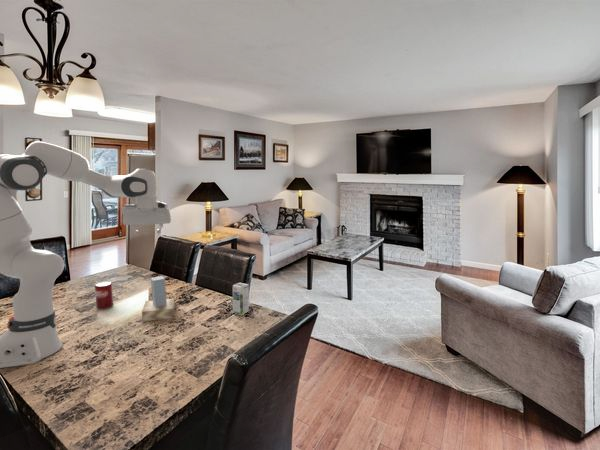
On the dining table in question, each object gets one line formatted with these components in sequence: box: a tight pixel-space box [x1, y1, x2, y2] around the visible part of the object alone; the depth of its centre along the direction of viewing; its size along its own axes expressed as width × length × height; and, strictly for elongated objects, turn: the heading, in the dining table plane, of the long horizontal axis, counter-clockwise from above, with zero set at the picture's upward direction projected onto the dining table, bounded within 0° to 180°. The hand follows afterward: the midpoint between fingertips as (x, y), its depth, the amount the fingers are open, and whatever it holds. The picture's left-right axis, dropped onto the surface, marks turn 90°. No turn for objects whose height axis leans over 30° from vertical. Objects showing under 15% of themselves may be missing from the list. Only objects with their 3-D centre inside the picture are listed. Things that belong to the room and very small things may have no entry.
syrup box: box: [232, 282, 250, 316], centre depth 156 cm, size 6×6×14 cm
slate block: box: [150, 275, 167, 308], centre depth 153 cm, size 5×5×13 cm
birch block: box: [141, 298, 175, 322], centre depth 154 cm, size 13×13×5 cm
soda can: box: [94, 281, 114, 310], centre depth 160 cm, size 7×7×12 cm
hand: (148, 233), depth 151 cm, fingers open, 8 cm apart
